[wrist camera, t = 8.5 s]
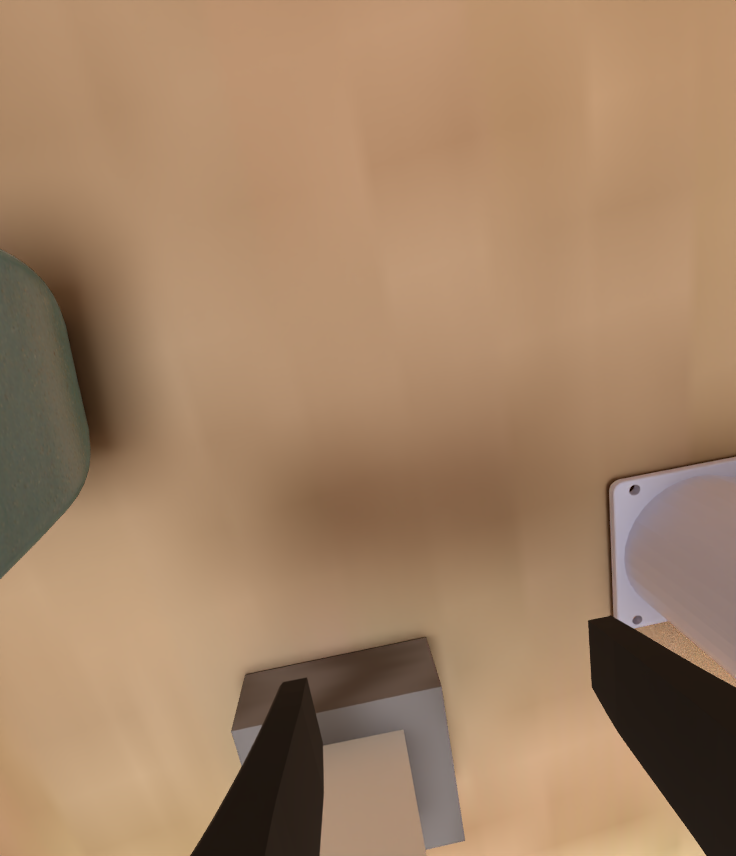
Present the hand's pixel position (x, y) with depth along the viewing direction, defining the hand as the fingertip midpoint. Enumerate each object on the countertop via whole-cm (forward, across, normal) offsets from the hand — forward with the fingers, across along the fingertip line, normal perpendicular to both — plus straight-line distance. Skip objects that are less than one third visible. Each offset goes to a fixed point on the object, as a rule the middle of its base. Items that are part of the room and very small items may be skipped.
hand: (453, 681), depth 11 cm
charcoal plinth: (+9, +4, +11) cm, 15 cm away
